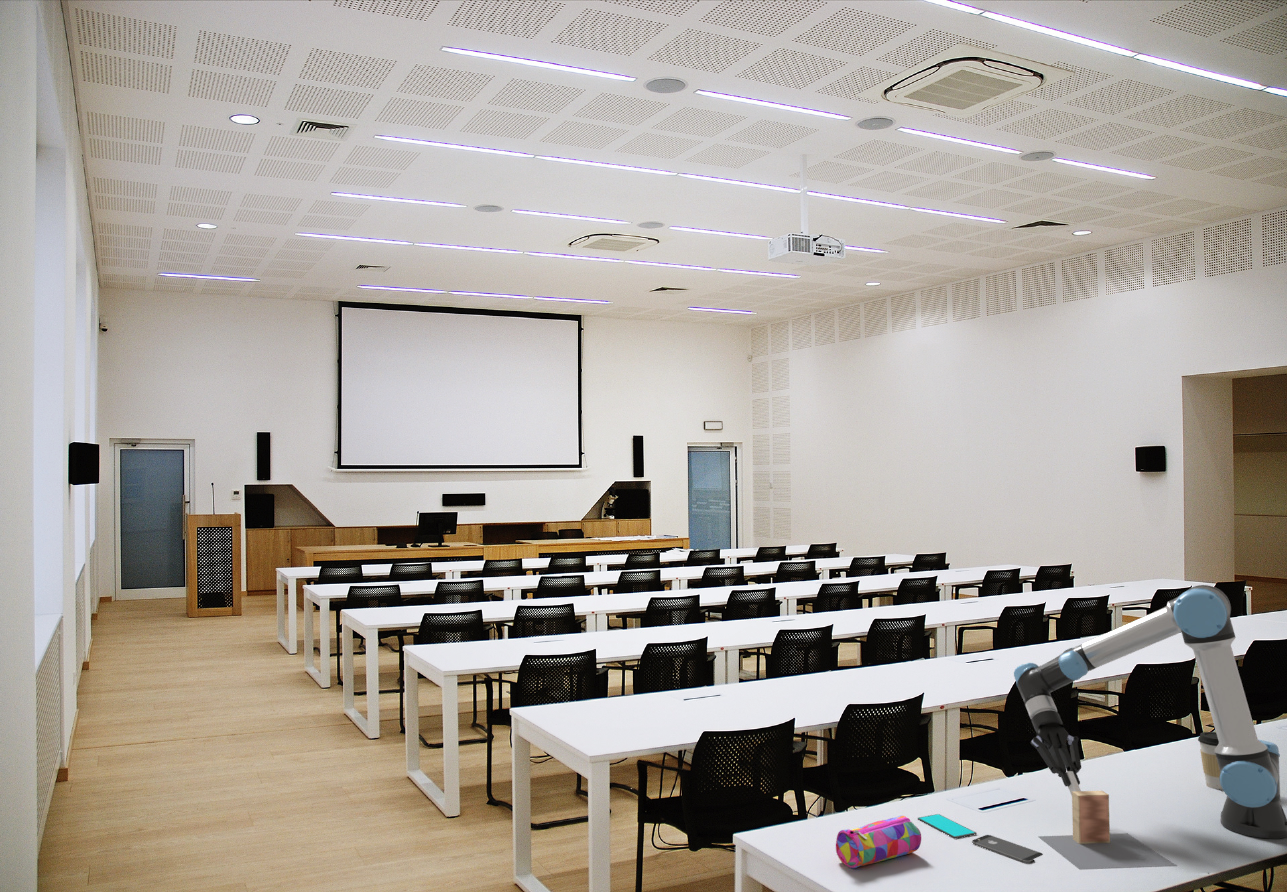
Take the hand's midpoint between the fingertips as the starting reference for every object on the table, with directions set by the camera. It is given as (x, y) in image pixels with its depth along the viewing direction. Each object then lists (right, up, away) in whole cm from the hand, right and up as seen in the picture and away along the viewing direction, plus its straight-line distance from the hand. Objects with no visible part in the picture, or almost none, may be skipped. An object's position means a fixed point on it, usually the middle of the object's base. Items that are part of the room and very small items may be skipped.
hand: (1077, 797), depth 241 cm
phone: (-22, -10, -10) cm, 26 cm away
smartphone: (-32, -11, +5) cm, 34 cm away
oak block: (+1, -9, -6) cm, 11 cm away
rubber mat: (+1, -9, -12) cm, 15 cm away
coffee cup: (+59, -11, +36) cm, 70 cm away
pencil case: (-56, -10, -15) cm, 58 cm away
